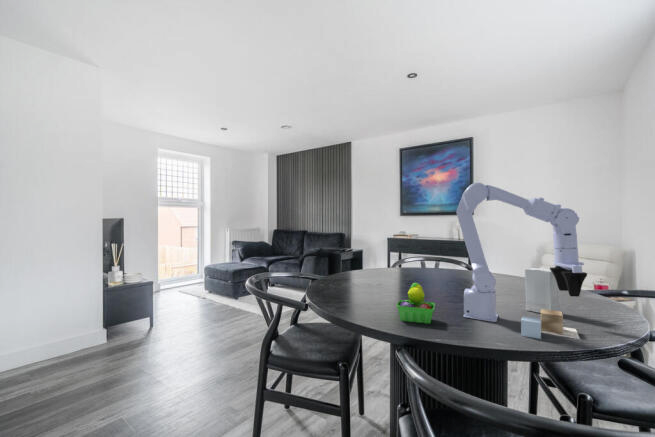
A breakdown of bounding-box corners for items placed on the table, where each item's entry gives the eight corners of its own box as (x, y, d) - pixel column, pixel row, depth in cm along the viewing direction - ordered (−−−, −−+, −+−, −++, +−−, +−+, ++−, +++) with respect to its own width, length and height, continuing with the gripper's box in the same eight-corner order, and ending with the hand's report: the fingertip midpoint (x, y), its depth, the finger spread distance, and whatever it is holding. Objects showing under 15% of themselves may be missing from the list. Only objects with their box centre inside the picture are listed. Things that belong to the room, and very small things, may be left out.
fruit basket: (396, 321, 97) (396, 285, 97) (400, 313, 105) (400, 280, 105) (434, 326, 93) (433, 288, 93) (435, 317, 101) (435, 283, 101)
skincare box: (559, 314, 104) (559, 270, 105) (551, 316, 101) (552, 270, 101) (531, 308, 111) (532, 267, 112) (523, 309, 108) (524, 267, 108)
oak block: (541, 330, 88) (541, 313, 89) (540, 325, 93) (540, 308, 93) (562, 333, 86) (562, 316, 86) (561, 328, 90) (561, 311, 90)
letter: (526, 330, 89) (526, 330, 89) (526, 321, 96) (526, 321, 96) (580, 339, 82) (580, 338, 82) (575, 329, 90) (575, 328, 90)
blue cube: (521, 336, 85) (521, 320, 85) (521, 331, 88) (521, 315, 88) (540, 339, 82) (540, 323, 82) (540, 334, 86) (540, 318, 86)
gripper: (593, 249, 84) (597, 299, 84) (570, 245, 98) (574, 288, 98) (563, 250, 86) (566, 298, 86) (545, 246, 100) (548, 288, 100)
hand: (568, 293), depth 92 cm, fingers open, 7 cm apart
